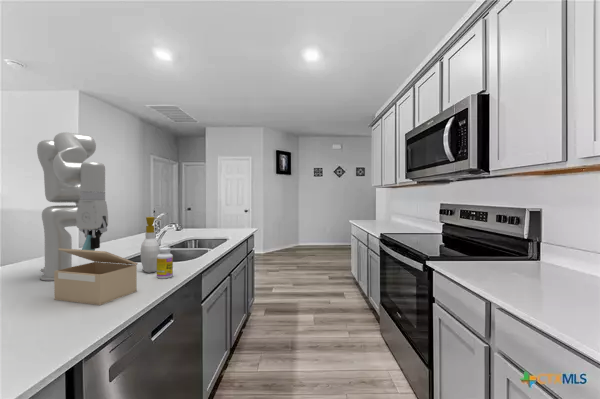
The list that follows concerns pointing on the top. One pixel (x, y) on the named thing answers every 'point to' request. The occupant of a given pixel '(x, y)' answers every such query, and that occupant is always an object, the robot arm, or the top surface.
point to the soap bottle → (149, 248)
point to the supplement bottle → (164, 263)
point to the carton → (95, 282)
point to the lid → (96, 254)
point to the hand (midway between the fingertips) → (93, 248)
